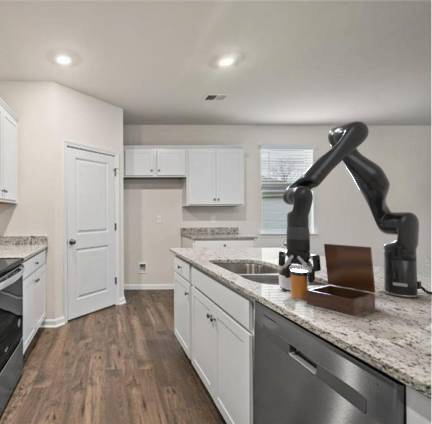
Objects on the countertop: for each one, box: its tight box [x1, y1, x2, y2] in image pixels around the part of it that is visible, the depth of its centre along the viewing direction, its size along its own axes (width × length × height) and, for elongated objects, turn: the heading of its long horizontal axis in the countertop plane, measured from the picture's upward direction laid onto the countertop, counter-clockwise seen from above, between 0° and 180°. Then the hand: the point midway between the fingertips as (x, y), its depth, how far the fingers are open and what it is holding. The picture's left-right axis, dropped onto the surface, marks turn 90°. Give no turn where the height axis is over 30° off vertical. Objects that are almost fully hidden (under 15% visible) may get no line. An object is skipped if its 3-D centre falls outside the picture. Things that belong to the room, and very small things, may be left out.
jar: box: [290, 269, 309, 300], centre depth 107 cm, size 6×6×11 cm
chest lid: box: [323, 243, 376, 293], centre depth 99 cm, size 16×14×1 cm
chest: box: [306, 284, 376, 317], centre depth 96 cm, size 15×14×6 cm
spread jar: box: [278, 264, 310, 293], centre depth 120 cm, size 12×11×12 cm
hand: (298, 279), depth 107 cm, fingers open, 8 cm apart
